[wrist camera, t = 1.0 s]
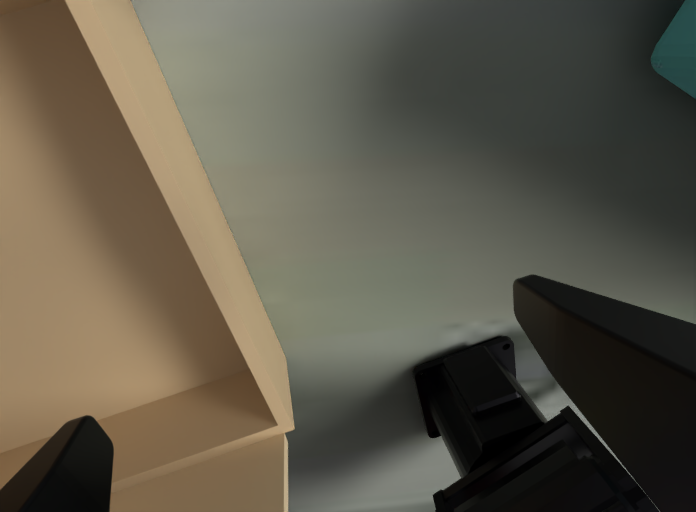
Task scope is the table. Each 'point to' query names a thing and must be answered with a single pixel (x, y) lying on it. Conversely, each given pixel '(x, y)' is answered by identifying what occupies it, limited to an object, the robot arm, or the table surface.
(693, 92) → the teal rectangular box
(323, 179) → the table surface
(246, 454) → the flap
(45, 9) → the carton
